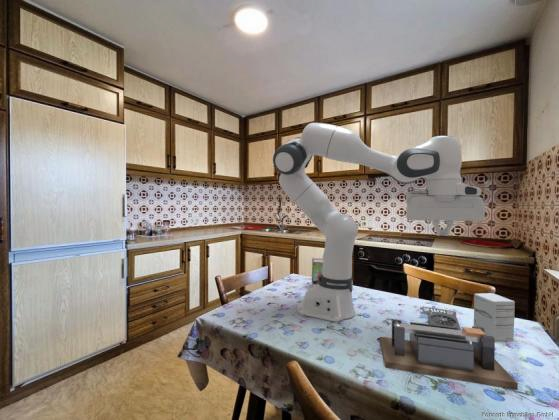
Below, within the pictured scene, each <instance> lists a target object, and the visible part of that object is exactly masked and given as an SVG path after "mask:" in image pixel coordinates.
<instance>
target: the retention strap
mask: <svg viewBox="0 0 559 420" xmlns="http://www.w3.org/2000/svg"><path fill="white" fill-rule="evenodd" d="M395 326H398V327H404V328H405V334H410V333H412V334H423V335H431V336H438V337H446V338H454V339H461V340H469V341H470V342H471V343H472V342H480V343H481V335H485V336H487V335H486V334H485V333H484V332H483V331H482V330H481V329H476V328H472V327H466V326H462V327H461V330H453V329H445V328H437V327H429V326H421V325H413V324H410V323H403V322H401V323H399V322H395V323H394V327H395Z"/></svg>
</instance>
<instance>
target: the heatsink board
mask: <svg viewBox="0 0 559 420" xmlns="http://www.w3.org/2000/svg"><path fill="white" fill-rule="evenodd" d="M395 322H399V323H402V320H401V319H396V318H391V337H386V336H379V345H380V349H381V352H382V358H383V363H384V367H385V368H389V369H394V370H399V371H405V372H409V373H410V372H411V373H416V374H423V375H428V376H429V375H430V376H435V377H439V378H440V377H442V378H448V379H453V380H457V381H458V380H459V381H465V382H469V383H470V382H471V383H475V384H476V383H477V384H482V385H486V386H495V387H499V388H507V389H512V390H517V391H518V390H519V389H518V387H519V384H518V382H517V381H516V379H514V378H513V377H512V375H511V374H510V373H509V372H508V371H507V370H506V369H505V368H504V367H503V366H502V365H501V364H500V363H499V362H498V361H497V360H496V358H495V356H496V354H495V353H496V352H495V349H496V347H495V345H496V343H495V342H496V341H495V338H494V337H493V336H485V335H481V343H480V342H472V341H469V340H461V339H454V338H446V337H438V336H431V335H423V334H412V333H409V340H408V339H406V338H405V337H406V333H405V328H404V327H398V326H395V327H394V323H395ZM409 324H413V325H421V326H429V327H437V328H445V329H453V330H458V328H457V327H448V326H440V325H431V324H429V323H422V322H413V321H409ZM471 328H476V329H481V330H482V331H483V332H484V333H485V329H484V328H483V327H474V325H472V327H471Z"/></svg>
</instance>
